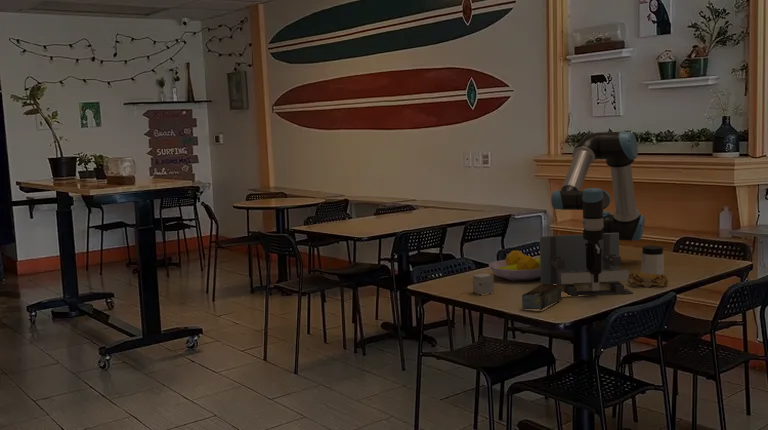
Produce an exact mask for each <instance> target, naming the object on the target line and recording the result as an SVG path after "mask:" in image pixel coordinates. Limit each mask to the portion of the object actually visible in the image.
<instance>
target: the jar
mask: <svg viewBox="0 0 768 430" xmlns="http://www.w3.org/2000/svg"><path fill="white" fill-rule="evenodd" d="M641 249H642V252H641V260H640V261H641V273H652V274H655V275H656V274H659V275H661V274H662V275H664V276H665V253H664V247H663V246H661V245H645V246H642V248H641Z"/></svg>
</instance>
